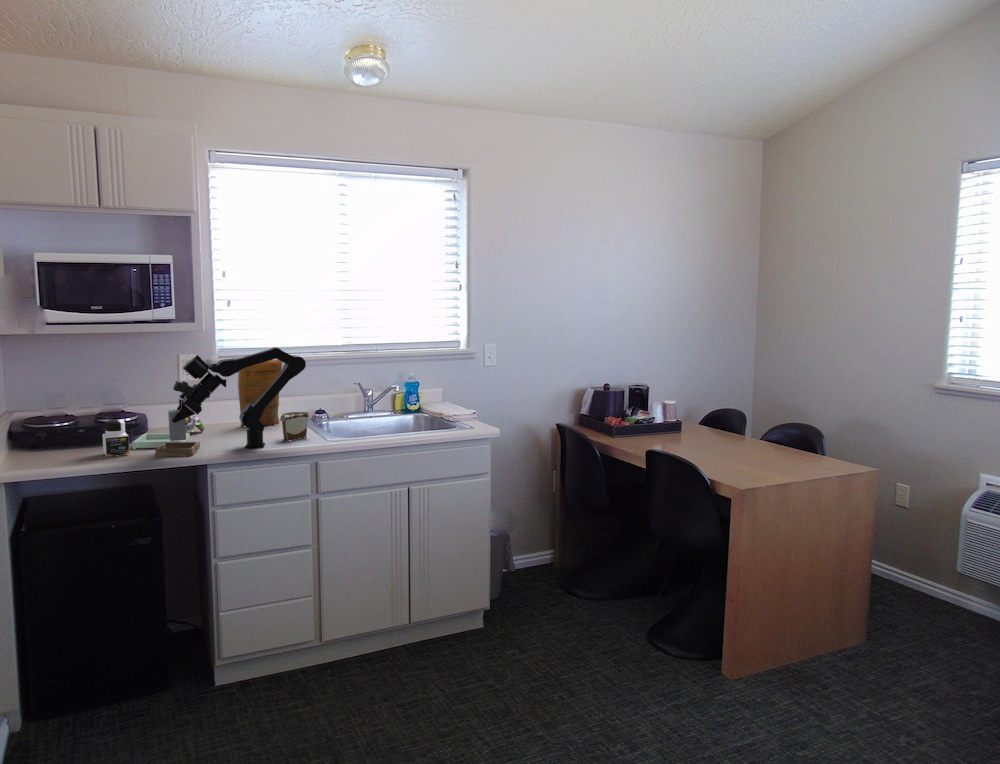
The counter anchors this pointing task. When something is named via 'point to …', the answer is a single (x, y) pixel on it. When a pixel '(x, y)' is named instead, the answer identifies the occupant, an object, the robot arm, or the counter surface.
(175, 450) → the walnut collar
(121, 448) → the medicine bottle
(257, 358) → the robot arm
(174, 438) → the grey peg
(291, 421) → the food container
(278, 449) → the counter surface
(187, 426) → the passion flower
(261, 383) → the pancake mix bag
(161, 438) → the mint green tray
